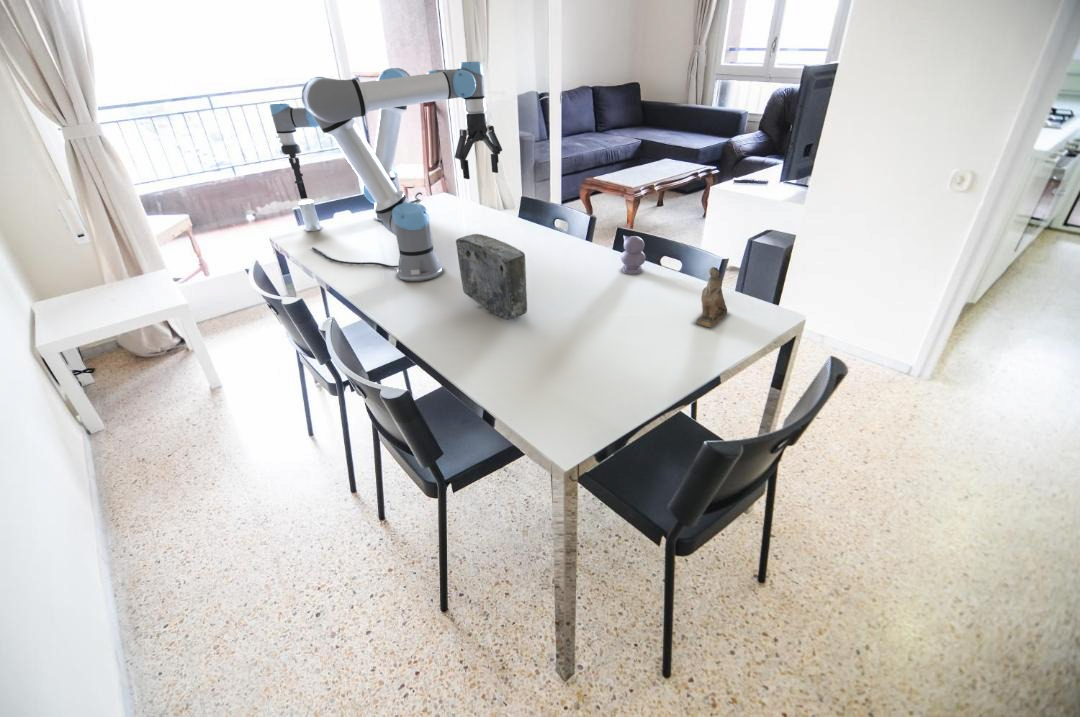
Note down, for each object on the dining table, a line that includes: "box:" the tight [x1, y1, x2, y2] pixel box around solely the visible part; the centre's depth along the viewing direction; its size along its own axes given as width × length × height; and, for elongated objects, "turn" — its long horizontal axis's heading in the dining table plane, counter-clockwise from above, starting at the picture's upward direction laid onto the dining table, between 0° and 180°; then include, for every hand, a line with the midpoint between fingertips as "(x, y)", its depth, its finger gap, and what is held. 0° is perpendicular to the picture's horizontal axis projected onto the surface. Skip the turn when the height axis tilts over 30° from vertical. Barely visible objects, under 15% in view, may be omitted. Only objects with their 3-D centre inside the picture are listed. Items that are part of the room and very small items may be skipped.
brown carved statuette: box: [695, 266, 728, 328], centre depth 135 cm, size 12×6×18 cm, turn 136°
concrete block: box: [455, 233, 528, 321], centre depth 143 cm, size 27×9×20 cm, turn 36°
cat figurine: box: [620, 234, 646, 275], centre depth 168 cm, size 9×8×12 cm
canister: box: [298, 199, 321, 232], centre depth 225 cm, size 6×6×12 cm
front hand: (481, 175), depth 186 cm, fingers open, 13 cm apart
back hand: (303, 195), depth 220 cm, fingers open, 13 cm apart
